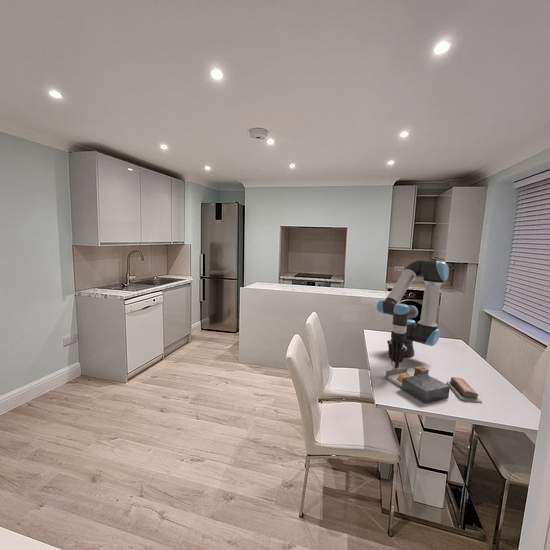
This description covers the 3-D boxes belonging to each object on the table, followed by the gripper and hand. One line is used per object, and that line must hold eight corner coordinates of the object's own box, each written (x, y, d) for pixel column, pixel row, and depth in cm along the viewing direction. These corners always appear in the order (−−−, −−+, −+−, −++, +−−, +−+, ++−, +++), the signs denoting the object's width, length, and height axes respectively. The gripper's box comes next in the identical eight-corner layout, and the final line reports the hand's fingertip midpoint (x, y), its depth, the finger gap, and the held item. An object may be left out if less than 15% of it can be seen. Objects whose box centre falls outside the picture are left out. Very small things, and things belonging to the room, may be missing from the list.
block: (413, 375, 169) (414, 367, 168) (420, 374, 171) (421, 366, 170) (421, 379, 164) (422, 371, 164) (427, 378, 166) (428, 369, 166)
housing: (401, 388, 153) (402, 377, 152) (423, 384, 159) (424, 373, 158) (424, 403, 140) (426, 391, 139) (448, 397, 146) (449, 386, 146)
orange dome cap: (395, 378, 162) (395, 375, 161) (406, 376, 165) (406, 373, 165) (406, 385, 154) (407, 382, 154) (418, 382, 158) (418, 379, 157)
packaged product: (446, 375, 162) (466, 377, 160) (445, 383, 162) (465, 386, 160) (461, 391, 144) (483, 394, 142) (459, 401, 145) (482, 404, 143)
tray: (384, 378, 164) (385, 370, 163) (404, 374, 170) (405, 367, 169) (405, 390, 151) (406, 382, 150) (426, 386, 157) (427, 378, 156)
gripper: (384, 328, 169) (380, 368, 171) (402, 336, 157) (398, 378, 160) (394, 327, 172) (390, 366, 174) (413, 335, 160) (408, 376, 163)
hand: (394, 372), depth 167 cm, fingers closed
